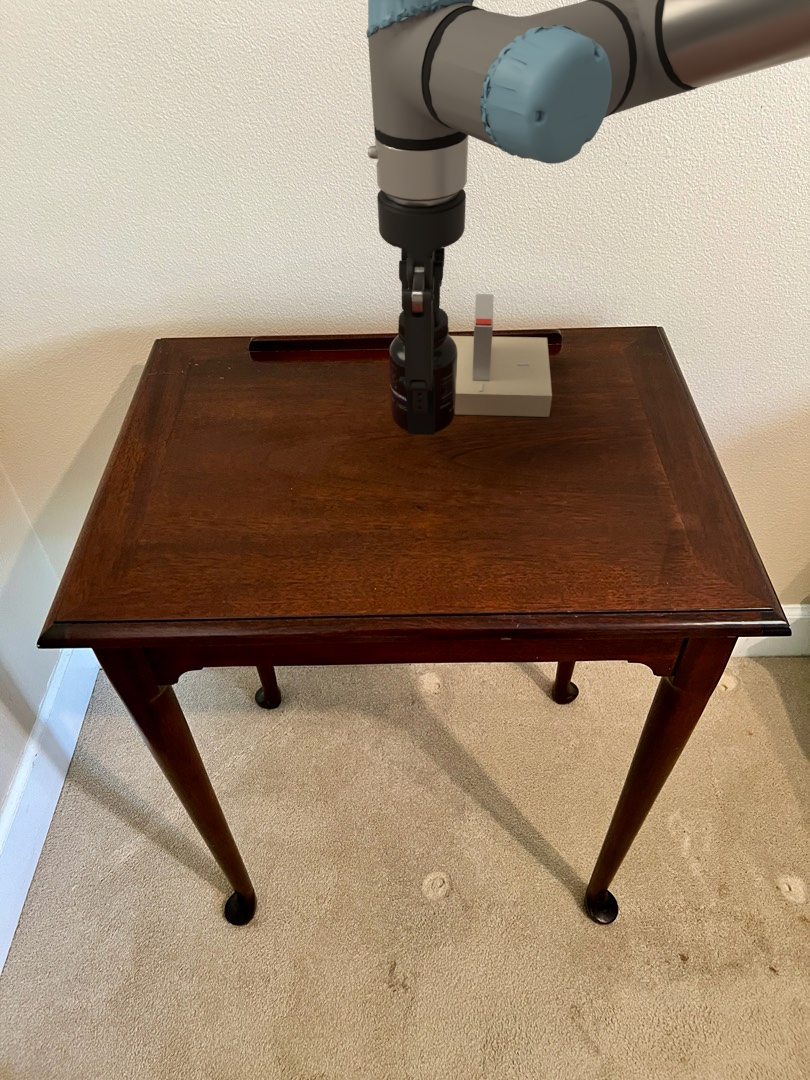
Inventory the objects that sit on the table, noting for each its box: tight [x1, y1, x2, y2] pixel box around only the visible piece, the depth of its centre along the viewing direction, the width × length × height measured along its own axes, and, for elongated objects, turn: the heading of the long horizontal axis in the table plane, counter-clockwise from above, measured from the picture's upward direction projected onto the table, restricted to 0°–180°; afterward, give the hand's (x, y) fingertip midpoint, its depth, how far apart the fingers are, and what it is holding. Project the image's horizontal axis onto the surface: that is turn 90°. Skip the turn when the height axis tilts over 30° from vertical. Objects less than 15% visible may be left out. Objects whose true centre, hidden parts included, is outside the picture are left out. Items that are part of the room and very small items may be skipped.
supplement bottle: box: [388, 307, 457, 436], centre depth 77 cm, size 7×7×12 cm
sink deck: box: [449, 335, 553, 418], centre depth 91 cm, size 16×12×3 cm
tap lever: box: [472, 293, 494, 381], centre depth 87 cm, size 7×2×7 cm, turn 175°
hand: (423, 409), depth 81 cm, fingers closed on supplement bottle, 7 cm apart
